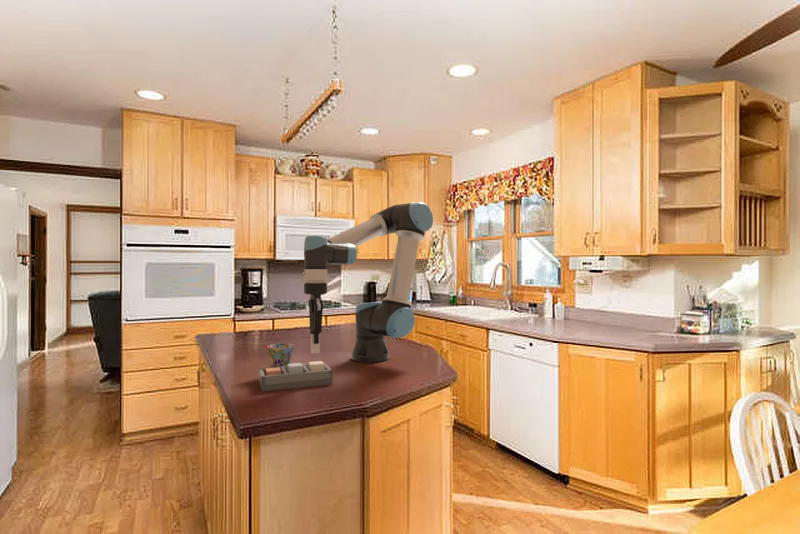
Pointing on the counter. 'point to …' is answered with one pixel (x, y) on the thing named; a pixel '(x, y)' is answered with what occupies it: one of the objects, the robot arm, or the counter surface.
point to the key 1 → (273, 371)
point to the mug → (280, 354)
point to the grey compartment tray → (294, 378)
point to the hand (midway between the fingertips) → (315, 352)
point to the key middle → (295, 368)
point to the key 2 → (316, 366)
